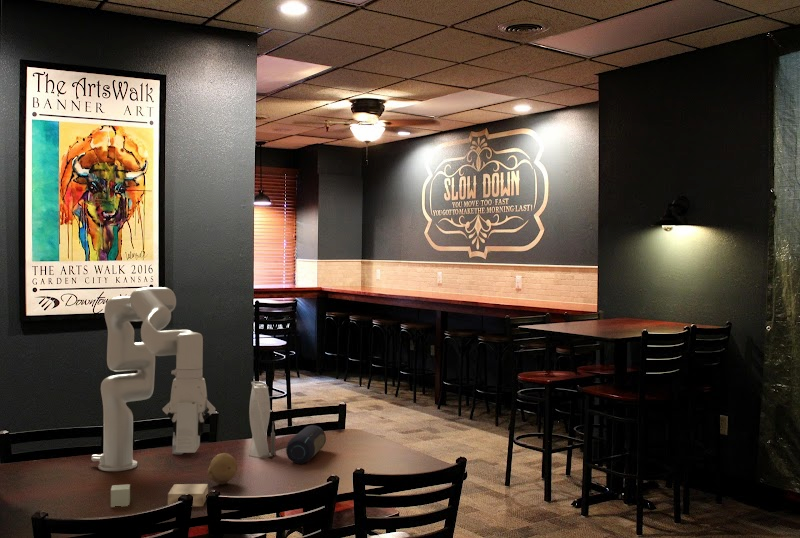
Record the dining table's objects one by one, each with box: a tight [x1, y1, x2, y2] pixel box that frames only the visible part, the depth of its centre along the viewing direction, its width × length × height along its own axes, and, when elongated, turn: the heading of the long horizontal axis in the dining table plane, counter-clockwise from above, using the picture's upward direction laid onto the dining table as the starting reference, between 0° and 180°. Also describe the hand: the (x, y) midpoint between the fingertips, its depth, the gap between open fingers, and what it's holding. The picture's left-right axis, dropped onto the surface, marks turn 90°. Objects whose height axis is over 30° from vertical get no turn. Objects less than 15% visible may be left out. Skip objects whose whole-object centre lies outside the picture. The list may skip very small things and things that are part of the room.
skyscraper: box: [248, 380, 277, 460], centre depth 287 cm, size 8×8×28 cm
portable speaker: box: [285, 424, 327, 465], centre depth 286 cm, size 25×10×10 cm, turn 172°
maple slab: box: [167, 483, 209, 507], centre depth 233 cm, size 10×10×4 cm
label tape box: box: [171, 432, 184, 455], centre depth 292 cm, size 9×4×12 cm, turn 178°
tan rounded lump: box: [206, 452, 238, 485], centre depth 250 cm, size 9×9×10 cm
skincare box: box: [176, 402, 201, 454], centre depth 233 cm, size 8×6×15 cm
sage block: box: [110, 483, 131, 508], centre depth 230 cm, size 5×5×5 cm
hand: (188, 434), depth 233 cm, fingers closed on skincare box, 6 cm apart
